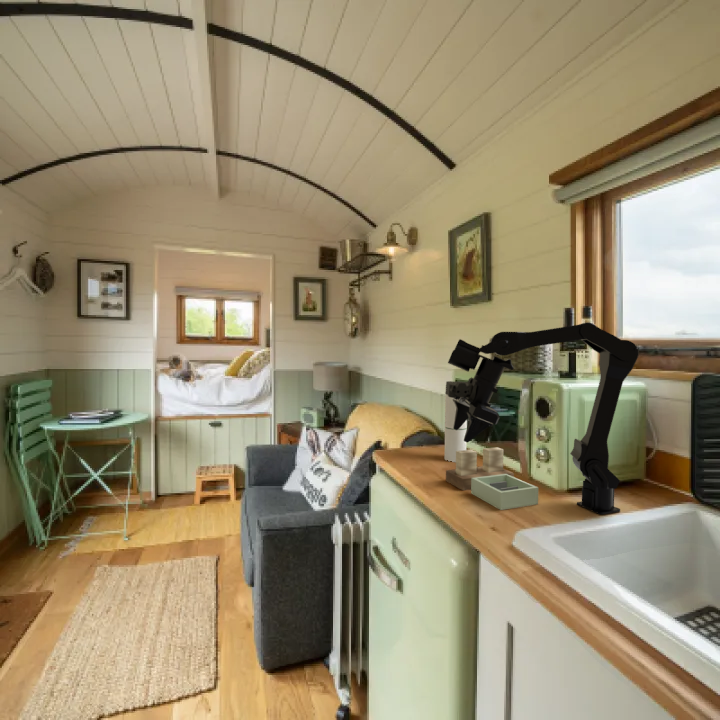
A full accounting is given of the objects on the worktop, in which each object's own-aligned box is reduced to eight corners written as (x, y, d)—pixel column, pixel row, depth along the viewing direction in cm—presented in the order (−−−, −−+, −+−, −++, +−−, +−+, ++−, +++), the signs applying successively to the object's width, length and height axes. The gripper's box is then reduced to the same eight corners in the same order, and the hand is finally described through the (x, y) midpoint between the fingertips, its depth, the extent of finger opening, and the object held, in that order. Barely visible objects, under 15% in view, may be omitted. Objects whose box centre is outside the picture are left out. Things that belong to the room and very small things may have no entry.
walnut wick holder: (494, 475, 115) (494, 464, 115) (513, 483, 107) (513, 472, 107) (445, 480, 109) (445, 470, 109) (462, 490, 101) (462, 479, 101)
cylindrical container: (464, 456, 134) (465, 384, 134) (467, 462, 127) (469, 386, 127) (443, 456, 135) (444, 384, 135) (445, 461, 128) (447, 386, 127)
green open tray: (505, 488, 103) (506, 473, 103) (538, 504, 93) (538, 487, 93) (471, 493, 99) (471, 477, 99) (500, 510, 89) (501, 492, 89)
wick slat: (496, 478, 112) (497, 447, 112) (502, 481, 109) (503, 449, 109) (482, 480, 110) (483, 448, 110) (488, 483, 108) (488, 450, 107)
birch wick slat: (470, 481, 109) (471, 449, 108) (476, 484, 106) (476, 451, 106) (455, 483, 107) (455, 451, 107) (460, 486, 105) (461, 453, 104)
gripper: (447, 361, 106) (424, 413, 107) (468, 374, 87) (440, 436, 89) (484, 377, 107) (460, 428, 108) (512, 392, 88) (483, 453, 90)
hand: (460, 435), depth 99 cm, fingers open, 9 cm apart
